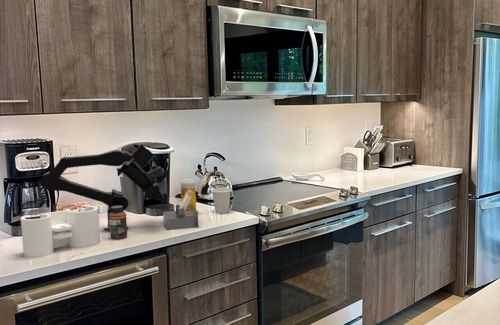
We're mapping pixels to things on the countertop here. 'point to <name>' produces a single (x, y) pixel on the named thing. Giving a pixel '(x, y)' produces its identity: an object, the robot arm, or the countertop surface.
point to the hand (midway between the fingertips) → (166, 201)
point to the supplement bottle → (117, 222)
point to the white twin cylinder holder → (60, 231)
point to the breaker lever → (186, 199)
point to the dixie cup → (221, 200)
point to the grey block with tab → (181, 218)
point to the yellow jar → (185, 186)
